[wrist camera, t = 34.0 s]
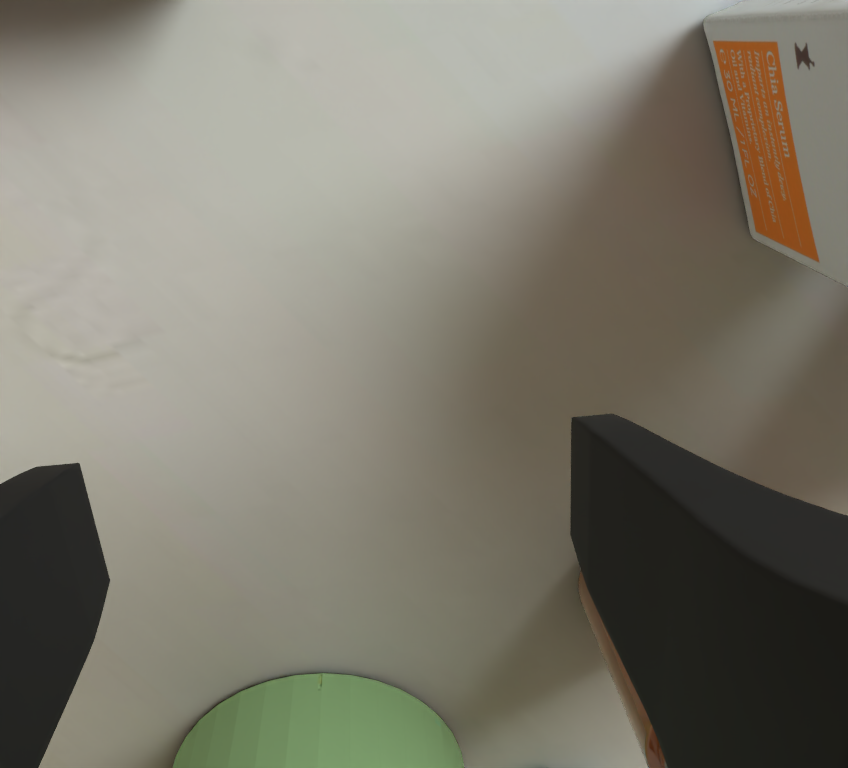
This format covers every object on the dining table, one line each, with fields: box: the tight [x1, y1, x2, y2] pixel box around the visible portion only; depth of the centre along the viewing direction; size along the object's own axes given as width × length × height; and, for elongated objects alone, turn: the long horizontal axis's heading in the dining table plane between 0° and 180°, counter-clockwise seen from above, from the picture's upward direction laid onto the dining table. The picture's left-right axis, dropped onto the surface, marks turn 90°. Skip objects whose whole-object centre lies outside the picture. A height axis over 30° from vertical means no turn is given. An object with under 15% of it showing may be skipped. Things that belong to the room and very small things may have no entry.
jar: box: [578, 571, 668, 768], centre depth 22 cm, size 5×5×8 cm
